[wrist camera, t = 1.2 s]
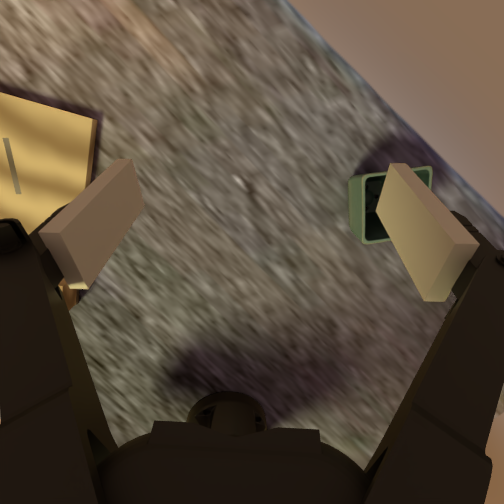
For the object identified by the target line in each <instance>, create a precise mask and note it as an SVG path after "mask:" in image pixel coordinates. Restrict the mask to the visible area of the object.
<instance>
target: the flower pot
mask: <svg viewBox="0 0 504 504" xmlns="http://www.w3.org/2000/svg"><path fill="white" fill-rule="evenodd" d="M411 170H412V171H413V172H414V173H415V174H416V175H417V176H418V177H419V178H420V179H421V180H422V182H423V183H424V184H425V185H426V186H427V187H428V188H429V189H430V190H431V187H432V175H433V169H432V166H421V167H413V168H411ZM387 172H388V171H383V172H376V173H368V174H361V175H354V176H352V177H350V178H349V180H348V204H349V226H350V229H351V231H352V232H353V233H354V234H355V235H356V236H357V238H358V239H359V240H360V241H361V242H362V243H363V244H372V243H378V242H385V241H391V239H390V237H389V235H388V233H387V231H386V229H385V227H384V226H383V224H382V222H381V220H380V218H379V216H378V214H377V213H376V208H377V205H378V202H379V198H380V195H381V192H382V188H383V185H384V182H385V178H386V175H387ZM365 185H367V188H366V189H365ZM375 195H377V198H375V197H374V196H375ZM365 207H367V210H365Z"/></svg>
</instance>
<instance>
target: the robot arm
mask: <svg viewBox="0 0 504 504" xmlns="http://www.w3.org/2000/svg"><path fill="white" fill-rule="evenodd" d="M144 206H145V205H144V202H143V198H142V194H141V191H140V187H139V183H138V179H137V176H136V172H135V168H134V165H133V161H132V159H117V160H116V161H115V162H114V163H113V164H112V165H110V166H109V167H108V168H107V169H106V170H105V171H104V172H103V173H102V174H101V175H100V176H98V177H97V178H96V179H95V180H94V181H93V182H92V183H91V184H90V185H89V186H88V187H87V188H85V189H84V190H83V191H82V192H81V193H80V194H79V195H78V196H77V197H76V198H75V199H74V200H72V201H71V202H70V203H68V204H66V205H64V206H62V207H60V208H58V209H57V210H56V211H55V212H54V213H52V214H51V215H50V217H48V218H47V219H46V220H45V221H44V222H42V223H41V224H40V225H39V226H38V227H37V228H36V229H35V230H34V231H32V232H31V233H30V234H29V235H28V234H27V232H26V230H25V229H24V227H23V225H22V224H21V222H20V221H19V220H18V219H14V218H4V219H0V412H1V424H0V504H484V502H485V498H486V494H487V490H488V486H489V482H490V478H491V473H492V460H491V459H490V458H489V457H488V456H486V455H485V448H486V444H487V440H488V436H489V433H490V429H491V426H492V422H493V418H494V415H495V411H496V408H497V404H498V401H499V397H500V393H501V390H502V386H503V383H504V251H503V250H496V249H495V248H494V246H493V245H492V244H491V243H490V242H489V241H488V240H487V239H486V238H485V237H484V236H483V235H482V234H481V233H478V230H477V229H476V228H475V227H474V226H473V225H472V224H471V223H470V222H469V221H468V220H467V219H466V217H464V216H462V215H460V214H459V213H457V212H455V211H449V210H448V209H447V208H446V207H445V206H444V205H443V203H442V202H441V201H440V200H439V199H438V198H437V197H436V196H435V195H434V194H433V192H432V191H431V190H430V189H429V188H428V187H427V186H426V185H425V184H424V183H423V182H422V180H421V179H420V178H419V177H418V176H417V175H416V174H415V173H414V172H413V171H412V170H411V168H410V167H409V166H408V165H407V164H406V163H390V165H389V168H388V172H387V175H386V178H385V182H384V185H383V188H382V192H381V195H380V198H379V202H378V205H377V208H376V213H377V214H378V216H379V218H380V220H381V222H382V224H383V226H384V227H385V229H386V231H387V233H388V235H389V237H390V239H391V241H392V242H393V244H394V246H395V248H396V250H397V252H398V254H399V256H400V257H401V259H402V261H403V263H404V265H405V267H406V269H407V271H408V272H409V274H410V276H411V278H412V280H413V282H414V284H415V285H416V287H417V289H418V291H419V293H420V295H421V297H422V299H423V300H424V301H431V302H445V301H446V299H447V297H448V296H449V294H450V292H451V291H452V292H453V293H454V295H455V296H456V298H457V300H456V301H455V303H454V304H453V306H452V307H451V309H450V310H449V312H448V314H447V315H446V317H445V318H444V319H445V321H444V323H443V325H442V327H441V329H440V331H439V332H438V334H437V336H436V338H435V340H434V342H433V344H432V346H431V348H430V349H429V351H428V353H427V355H426V357H425V359H424V361H423V363H422V365H421V367H420V368H419V370H418V372H417V374H416V376H415V378H414V380H413V382H412V384H411V385H410V387H409V389H408V391H407V393H406V395H405V397H404V399H403V401H402V403H401V404H400V406H399V408H398V410H397V412H396V414H395V416H394V418H393V420H392V422H391V423H390V425H389V427H388V429H387V431H386V433H385V435H384V437H383V439H382V440H381V442H380V444H379V446H378V448H377V450H376V451H375V453H374V455H373V456H372V458H371V460H370V461H369V463H368V465H367V466H366V468H365V470H364V471H363V470H362V469H361V468H360V467H359V466H358V465H357V464H356V463H355V462H354V461H353V460H351V459H350V458H349V457H348V456H346V455H345V454H343V453H342V452H340V451H339V450H337V449H336V448H334V447H332V446H330V445H328V444H325V443H323V442H320V433H319V430H315V429H297V428H279V427H278V428H274V429H269V430H267V425H266V418H265V413H264V411H263V409H262V407H261V406H260V404H259V403H258V402H257V401H255V400H254V399H253V398H251V397H249V396H247V395H245V394H241V393H237V392H220V393H215V394H212V395H209V396H207V397H205V398H203V399H202V400H200V401H199V402H198V403H196V404H195V405H194V406H193V408H192V409H191V410H190V412H189V414H188V417H187V421H186V422H172V421H154V424H153V428H152V431H151V433H148V434H145V435H142V436H139V437H137V438H135V439H133V440H131V441H129V442H127V443H125V444H123V445H122V446H120V447H119V448H118V446H117V444H116V442H115V440H114V439H113V437H112V434H111V432H110V430H109V427H108V424H107V421H106V418H105V415H104V412H103V410H102V407H101V404H100V401H99V398H98V395H97V392H96V389H95V386H94V383H93V380H92V378H91V375H90V372H89V369H88V366H87V363H86V360H85V357H84V354H83V351H82V348H81V346H80V343H79V340H78V337H77V334H76V331H75V328H74V325H73V322H72V319H71V316H70V314H69V311H68V308H67V305H66V302H65V299H64V296H63V293H62V291H61V289H60V287H59V286H58V284H59V283H60V282H61V281H62V279H63V278H64V279H65V281H66V283H67V284H68V286H69V288H70V289H89V288H90V286H91V285H92V283H93V282H94V280H95V279H96V277H97V276H98V274H99V273H100V271H101V270H102V268H103V267H104V265H105V264H106V262H107V261H108V259H109V258H110V256H111V255H112V254H113V252H114V251H115V249H116V248H117V246H118V245H119V243H120V242H121V240H122V239H123V237H124V236H125V234H126V233H127V231H128V230H129V228H130V227H131V225H132V224H133V222H134V221H135V219H136V218H137V216H138V215H139V213H140V212H141V210H142V209H143V207H144Z"/></svg>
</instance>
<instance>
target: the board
mask: <svg viewBox="0 0 504 504" xmlns="http://www.w3.org/2000/svg"><path fill="white" fill-rule="evenodd" d="M96 129H97V120H95V119H91V118H88V117H84V116H81V115H77V114H74V113H70V112H67V111H63V110H60V109H56V108H53V107H49V106H46V105H43V104H39V103H36V102H32V101H29V100H25V99H22V98H18V97H15V96H11V95H8V94H4V93H1V92H0V219H4V218H14V219H18V220H19V221H20V222H21V224H22V225H23V227H24V229H25V230H26V232H27V234H28V235H29V234H30V233H31V232H32V231H34V230H35V229H36V228H37V227H38V226H39V225H40V224H41V223H42V222H44V221H45V220H46V219H47V218H48V217H50V215H51V214H52V213H54V212H55V211H56V210H57V209H58V208H60V207H62V206H64V205H66V204H68V203H70V202H71V201H72V200H74V199H75V198H76V197H77V196H78V195H79V194H80V193H81V192H82V191H83V190H84V189H85V188H87V187H88V186H89V185H90V182H91V173H92V164H93V155H94V147H95V138H96Z"/></svg>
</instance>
